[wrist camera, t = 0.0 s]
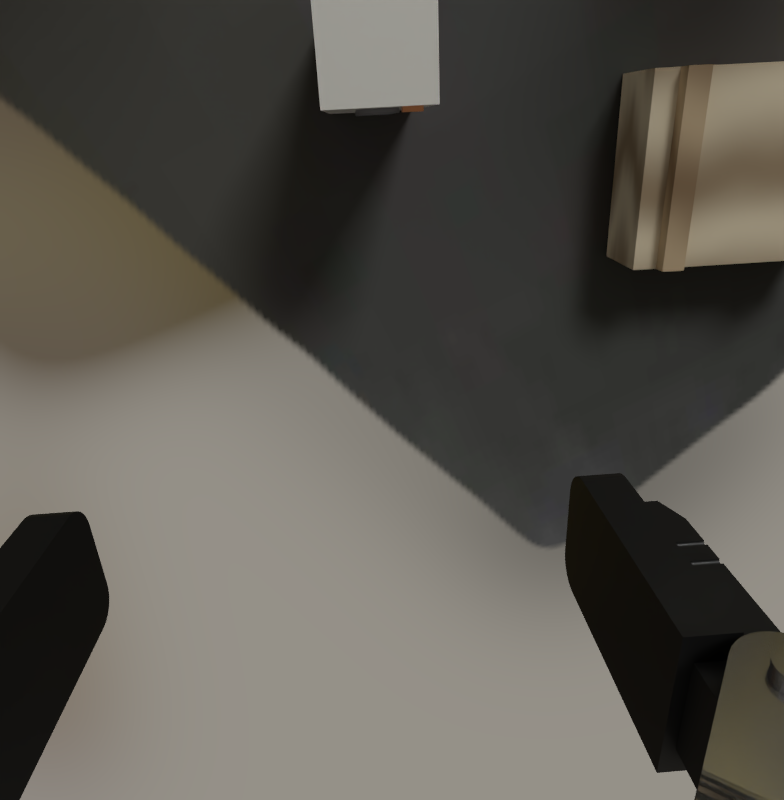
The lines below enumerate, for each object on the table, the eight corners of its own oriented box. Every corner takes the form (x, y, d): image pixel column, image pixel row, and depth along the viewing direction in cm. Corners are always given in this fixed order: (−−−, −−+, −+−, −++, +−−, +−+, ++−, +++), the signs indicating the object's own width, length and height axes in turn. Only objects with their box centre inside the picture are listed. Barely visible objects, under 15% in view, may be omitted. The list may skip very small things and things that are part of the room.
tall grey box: (322, 19, 33) (307, -33, 22) (408, 15, 33) (437, -39, 22) (330, 118, 34) (320, 116, 23) (411, 113, 35) (439, 110, 24)
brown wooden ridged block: (623, 73, 34) (662, 66, 30) (834, 62, 35) (904, 54, 30) (606, 256, 38) (639, 273, 34) (796, 244, 39) (852, 260, 35)
